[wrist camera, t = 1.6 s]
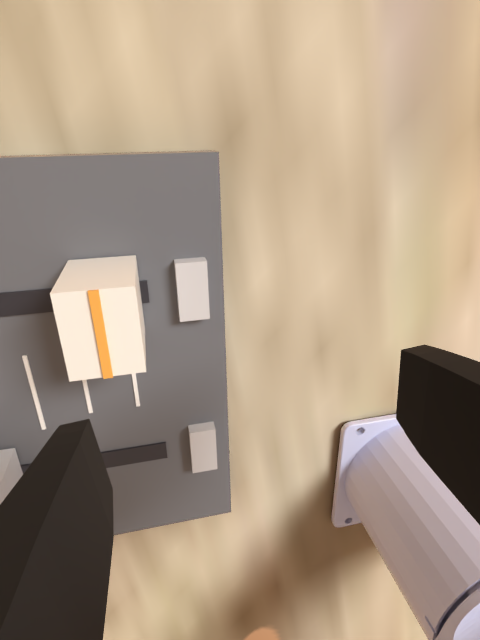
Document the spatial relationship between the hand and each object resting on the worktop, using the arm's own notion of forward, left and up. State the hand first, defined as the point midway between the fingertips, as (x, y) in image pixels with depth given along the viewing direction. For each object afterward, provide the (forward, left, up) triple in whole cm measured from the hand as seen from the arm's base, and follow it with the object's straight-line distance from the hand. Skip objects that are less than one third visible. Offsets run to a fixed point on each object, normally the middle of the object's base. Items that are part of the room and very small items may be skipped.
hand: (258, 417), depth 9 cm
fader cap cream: (+4, 0, -8) cm, 9 cm away
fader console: (+7, +4, -10) cm, 12 cm away
